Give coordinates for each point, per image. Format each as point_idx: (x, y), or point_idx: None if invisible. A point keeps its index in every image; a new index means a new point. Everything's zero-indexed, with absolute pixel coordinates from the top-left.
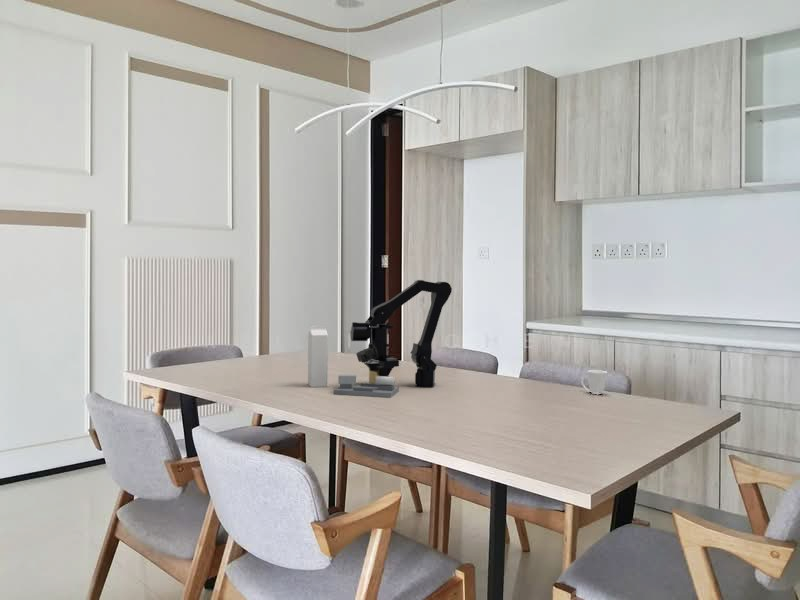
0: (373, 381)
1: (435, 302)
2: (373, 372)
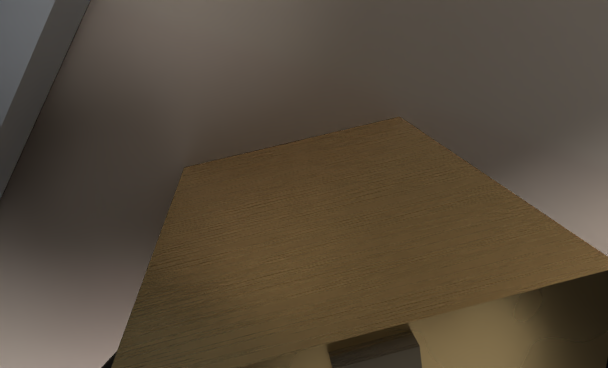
0: (275, 189)
1: None
2: (312, 318)
